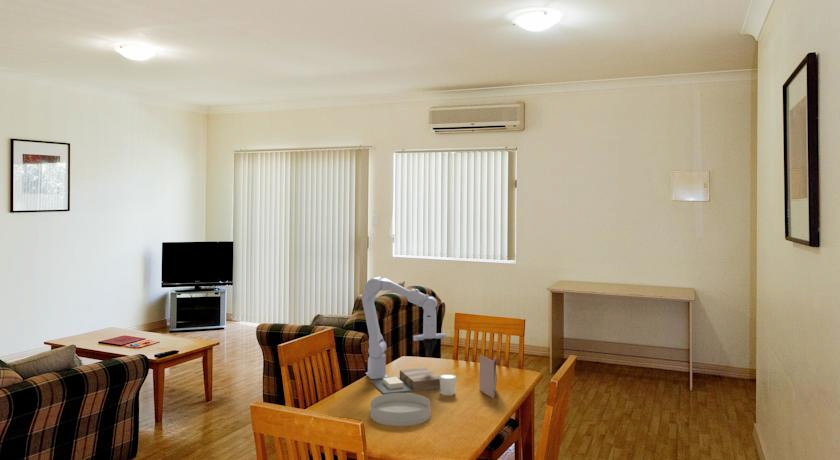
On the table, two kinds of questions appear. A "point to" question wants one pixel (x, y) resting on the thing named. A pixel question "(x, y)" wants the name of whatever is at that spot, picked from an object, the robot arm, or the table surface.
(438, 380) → the platform
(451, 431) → the table surface
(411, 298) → the robot arm
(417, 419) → the dish
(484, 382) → the greeting card
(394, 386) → the tile
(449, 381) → the white cup
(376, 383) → the mat
